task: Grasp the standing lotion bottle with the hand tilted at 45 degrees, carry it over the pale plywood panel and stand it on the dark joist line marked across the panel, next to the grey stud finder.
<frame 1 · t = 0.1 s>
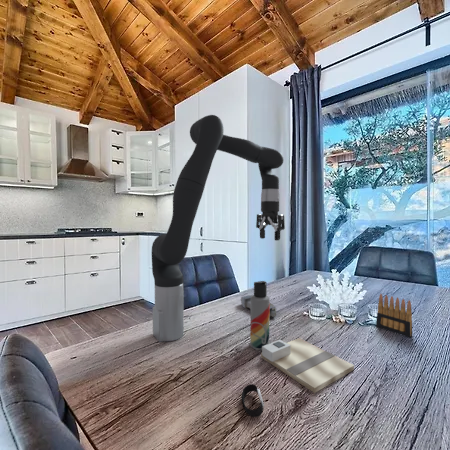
hand: (269, 239, 112), 29 cm above the table, tool pointing down, fingers open, 8 cm apart
handheld device: (260, 311, 111), on the table
plywood panel: (305, 363, 73), on the table
watch: (252, 407, 57), on the table
ammunition clip: (393, 331, 92), on the table
lotion bottle: (259, 346, 82), on the table
stud finder: (276, 358, 75), resting on plywood panel
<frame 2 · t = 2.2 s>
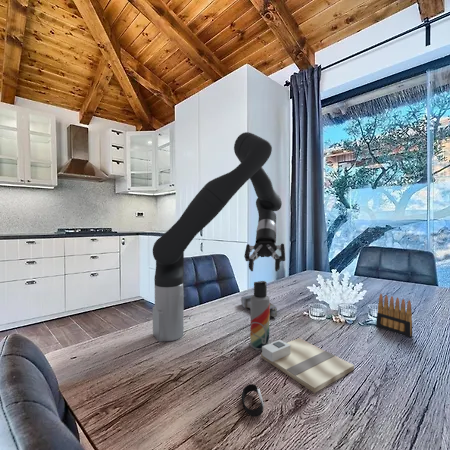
hand: (263, 270, 92), 21 cm above the table, tool tilted 45°, fingers open, 8 cm apart
nothing on the table moved.
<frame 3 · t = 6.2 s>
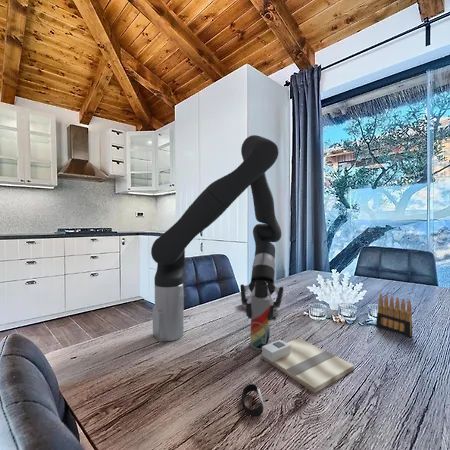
hand: (259, 318, 80), 9 cm above the table, tool tilted 45°, fingers closed on lotion bottle, 5 cm apart
lotion bottle: (259, 346, 82), on the table, touching gripper
everything else where it was.
when the fingers open (11 cm above the table, at t = 11.5 s): lotion bottle stays where it is, resting on plywood panel.
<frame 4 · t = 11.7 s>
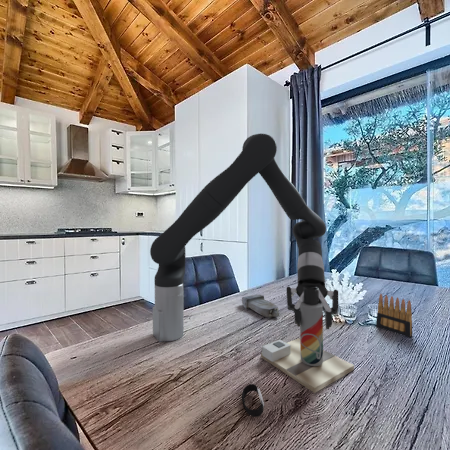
hand: (313, 326, 69), 12 cm above the table, tool tilted 45°, fingers open, 6 cm apart
lotion bottle: (311, 361, 71), point 1 cm above the table, touching plywood panel
everything else where it was.
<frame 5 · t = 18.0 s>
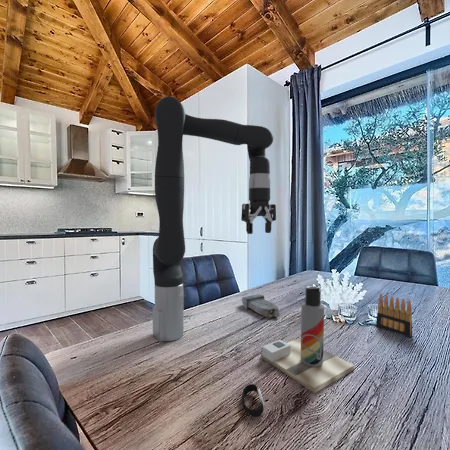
hand: (259, 233, 96), 33 cm above the table, tool pointing down, fingers open, 8 cm apart
nothing on the table moved.
at the end: lotion bottle inside the target area (0.4 cm from its centre), point 1.1 cm above the table; lotion bottle tilted 0°; the gripper is holding nothing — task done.
